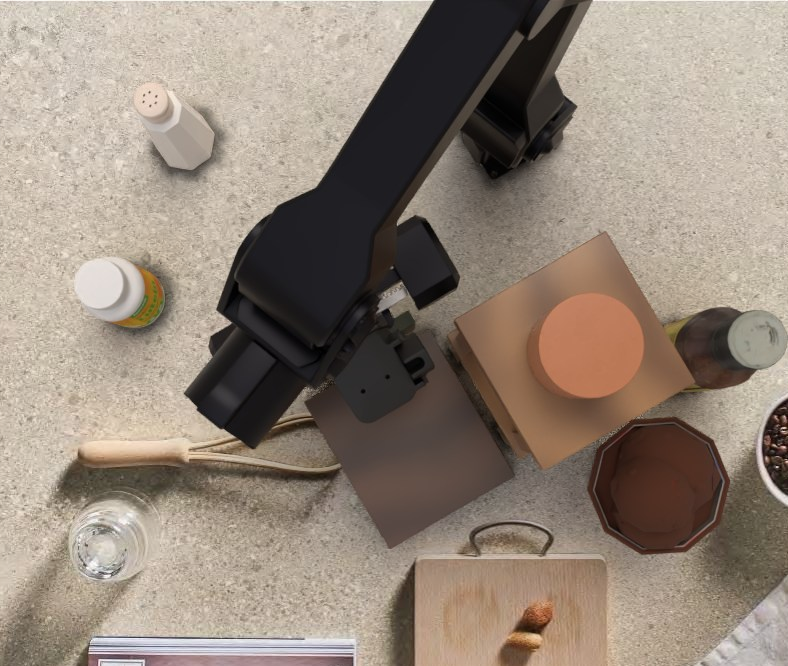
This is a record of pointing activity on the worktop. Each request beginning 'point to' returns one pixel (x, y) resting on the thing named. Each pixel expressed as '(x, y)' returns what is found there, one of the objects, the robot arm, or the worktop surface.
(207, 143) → the salt shaker
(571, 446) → the square box with cylinder
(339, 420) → the cabinet
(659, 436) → the brown polygonal jar
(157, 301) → the supplement bottle
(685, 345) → the sauce bottle
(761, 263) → the worktop surface
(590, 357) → the tin
